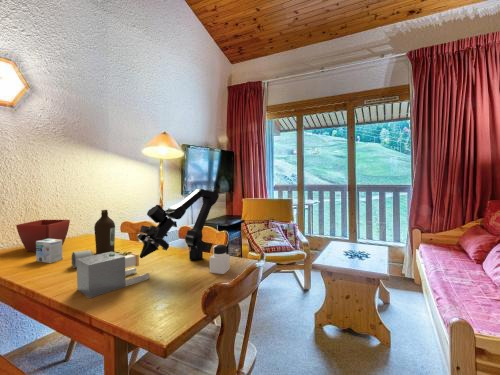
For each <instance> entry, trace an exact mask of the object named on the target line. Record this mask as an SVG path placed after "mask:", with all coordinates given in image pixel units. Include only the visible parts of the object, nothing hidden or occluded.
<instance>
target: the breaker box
mask: <svg viewBox="0 0 500 375" xmlns="http://www.w3.org/2000/svg"><path fill="white" fill-rule="evenodd" d="M124 256H125V255H122V254H120V253H117V252H115V251H114V252H107V253H102V254H93V256H88V257H83V258H78V259H77V268H76V280H77V281H76V283H77V284H76V285H77V288H76V289H77V290H78V291H79V292H80V293H82V294H83V295H84V296H85V297H86V298H88V299H92V298H94V297H97V296H100V295H101V296H102V295H104V294H107V293H110V292H113V291H116V290H119V289H122V288H125V287H128V286H131V285H134V284H137V283H141V282H144V281H146V280H149V279H150V273H149V272H146V273H142V274H139V275H137V276H133V277H129V278H127V279H126V277H127V276H130V275H131V276H132V275H134V274H137V267H132V268H128V269H126V268H125V257H124Z"/></svg>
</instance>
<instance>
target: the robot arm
mask: <svg viewBox="0 0 500 375" xmlns="http://www.w3.org/2000/svg"><path fill="white" fill-rule="evenodd" d="M219 197H220V195H219V192H218V190H212V189H211V190H209V189H207V190H206V189H203V188H196V189H195V190H194V191H193V192H191V194H189V195H188V196H186V198H184V199H183V200H181V201H180V202H179V203H176V204H173V205H171V206H170V207H168V208H167V209H163V207H162V206H161V205H160V204H156V205H154V206H153V207H151V208H150V209H148V211H147V213H146V215H147V216H148V217H149V218H150V219H151V220H152V221H153V222H154V223H155V224H157V226H156V225H155V226H154V225H152V224H151V225H150V226H147V225H141V227H140V229H139V234H138V236H137V237H136V238H137V239H139V241H141V242H142V243H143V246H142V249H141V252H140V254H139V259H143V258H146V257H147V256H148V255H150V254H152V253H154V252H156V251H158V250H160V249H159V247H161V248H162V250H164V251H168V249H169V248H170V244H169V243H168V242H167V241H166V240H165V239H164V238H165V237H166V238H167V237H168V233H169V231H170V230H171V229H172V227H173V228H177V227H178V222H177V221H175V220H181V219H182V218H183V217H184V216H185V215H186V213H187V210H188V209H189V208H190V207H192V205H193V204H195V203H196V202H197V201H198V200H199V199H200V198H202V205H201V208H200V211H199V212H198V215H197V217H196V220H195V222H194V224H193V227H192V228H191V229H187V232H186V234H185V235H184V236H185V237H184V241H185V243H186V245H187V247H188V248H189V250H188V259H189V260H190V261H191V262H193V261H194V262H195V261H203V260H204V257H203V256H204V255H203V254H204V253H203V252H204V251H203V249H206V243H205V241H203V229H204V226H205V224H206V221H207V219H208V217H209V214H210V212H211V208H212V207H213V206H214V205H215V204H216V203H217V201H218V199H219Z"/></svg>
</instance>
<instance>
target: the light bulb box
mask: <svg viewBox="0 0 500 375" xmlns="http://www.w3.org/2000/svg"><path fill="white" fill-rule="evenodd" d="M63 255H64V254H63V246H62V240H58V239H44V240H40V241H36V252H35V258H36V259H35V261H36V262H40V263H45V264H51V263H55V262H59V261H62V260H63V259H64V257H63Z"/></svg>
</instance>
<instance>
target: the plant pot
mask: <svg viewBox="0 0 500 375" xmlns="http://www.w3.org/2000/svg"><path fill="white" fill-rule="evenodd" d="M70 223H71V220H70V219H39V220H33V221H28V222H23V223H17V224H16V225H15V227H16V230H17V233H18V237H19V239H20V241H21V243H22V245H23V247H24V248H25V251H27V252H34V253H36V241H40V240H44V239H58V240H62V247H63V245H64V243H65V240H66V238H67V236H68V231H69V227H70Z"/></svg>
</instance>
